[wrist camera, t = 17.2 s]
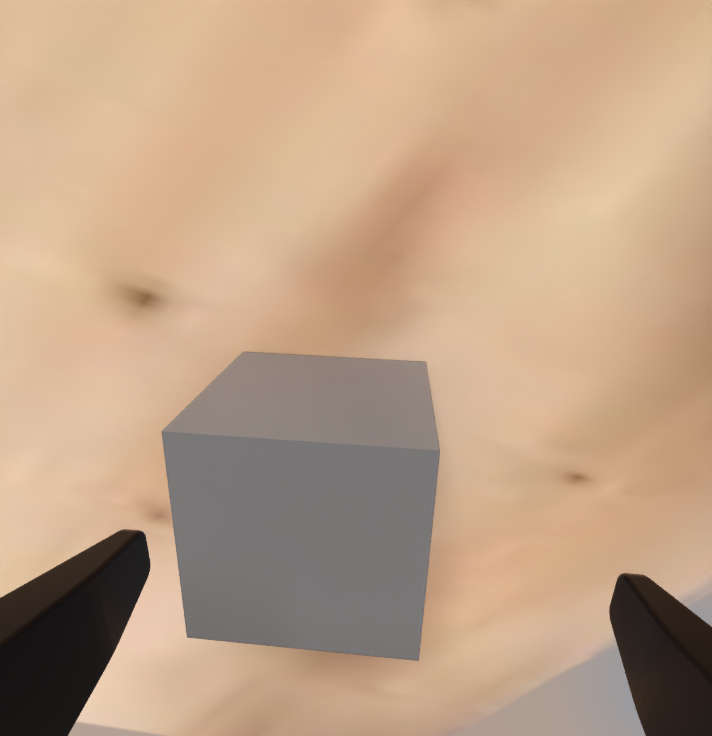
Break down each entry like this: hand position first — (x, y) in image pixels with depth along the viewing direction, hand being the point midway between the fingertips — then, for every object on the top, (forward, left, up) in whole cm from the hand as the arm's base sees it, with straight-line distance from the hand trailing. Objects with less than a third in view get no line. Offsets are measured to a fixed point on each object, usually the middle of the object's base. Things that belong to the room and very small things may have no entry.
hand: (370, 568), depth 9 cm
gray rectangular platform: (+2, +4, -12) cm, 12 cm away
